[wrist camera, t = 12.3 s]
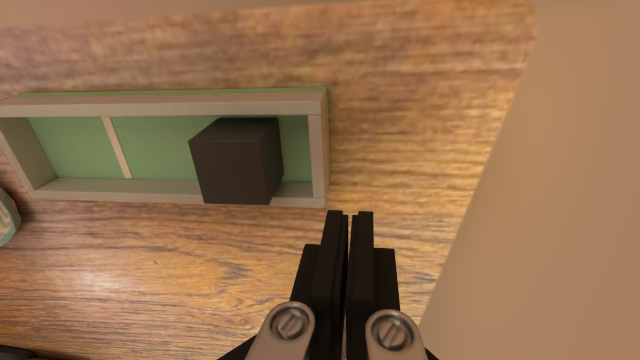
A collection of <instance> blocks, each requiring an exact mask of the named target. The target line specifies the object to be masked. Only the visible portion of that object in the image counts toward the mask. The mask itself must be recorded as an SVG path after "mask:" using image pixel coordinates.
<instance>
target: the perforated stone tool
mask: <svg viewBox="0 0 640 360" xmlns="http://www.w3.org/2000/svg"><path fill="white" fill-rule="evenodd" d="M26 360H52V359H42V358H33V359H26Z"/></svg>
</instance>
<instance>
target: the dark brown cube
mask: <svg viewBox="0 0 640 360" xmlns="http://www.w3.org/2000/svg"><path fill="white" fill-rule="evenodd" d="M188 145H189V148H190V152H191V156H192V160H193V163H194V167H195V171H196V175H197V178H198V182H199V186H200V190H201V193H202V197H203V201H204V203H205V204H233V205H265V206H268V205H269V204H270V202H271V200H272V198H273V196H274V194H275V192H276V190H277V188H278V186H279V184H280V181H281V179H282V177H283V175H284V167H283V158H282V149H281V141H280V132H279V123H278V118H218V119H216V120H215V121H214V122H212V123H211V124H210V125H208V126H207V127H206V128H204V129H203V130H202V131H200V132H199V133H198V134H197V135H195V136H194V137H193V138H191V139H190V140H189V141H188Z"/></svg>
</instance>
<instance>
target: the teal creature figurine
mask: <svg viewBox="0 0 640 360" xmlns="http://www.w3.org/2000/svg"><path fill="white" fill-rule="evenodd" d="M21 222H22V220H21V218H20V215H19V212H18V210H17V207H16V204H15V202H14V200H13V199H12V198H11V197H10V196H9V195H8V194H7V193H6V192H5V191H4V190H3V189H2V188H1V187H0V246H2V245H3V244H5V243H6V242H8V241H9V240H11V239H12V237H13V236H14V234H15V233H16V232H17V230H18V228H19V226H20V224H21Z"/></svg>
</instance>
